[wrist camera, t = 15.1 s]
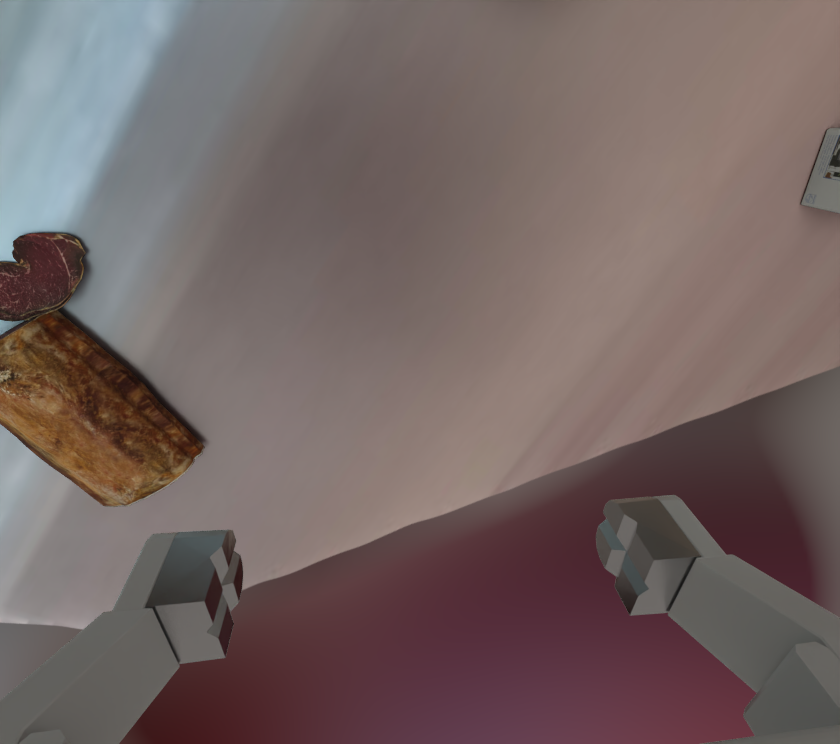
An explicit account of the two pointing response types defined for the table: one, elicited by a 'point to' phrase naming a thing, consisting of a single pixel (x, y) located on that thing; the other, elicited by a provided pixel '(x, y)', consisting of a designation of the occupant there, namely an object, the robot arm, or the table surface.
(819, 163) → the light bulb box
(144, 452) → the cured meat
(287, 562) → the table surface
